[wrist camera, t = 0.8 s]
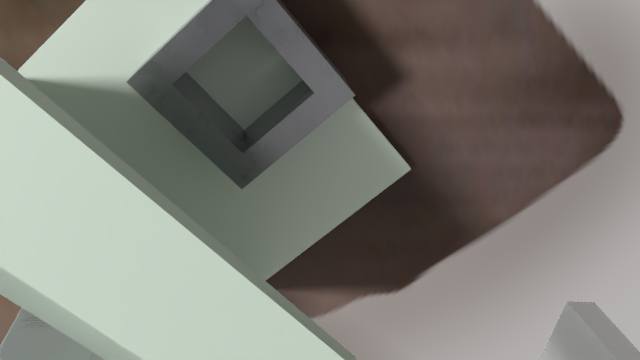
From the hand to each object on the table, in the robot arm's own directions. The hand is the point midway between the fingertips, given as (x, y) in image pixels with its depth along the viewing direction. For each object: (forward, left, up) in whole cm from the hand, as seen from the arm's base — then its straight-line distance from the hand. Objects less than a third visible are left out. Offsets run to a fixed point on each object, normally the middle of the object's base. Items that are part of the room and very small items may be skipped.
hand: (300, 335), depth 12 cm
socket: (-2, -1, -24) cm, 24 cm away
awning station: (0, -5, -24) cm, 24 cm away
